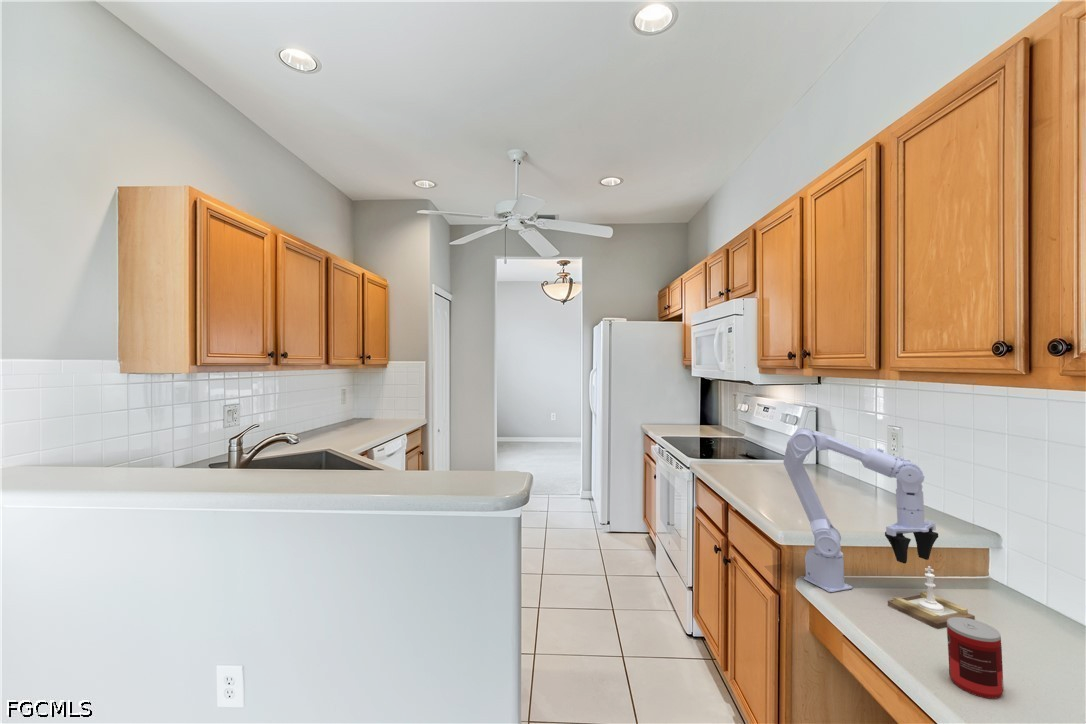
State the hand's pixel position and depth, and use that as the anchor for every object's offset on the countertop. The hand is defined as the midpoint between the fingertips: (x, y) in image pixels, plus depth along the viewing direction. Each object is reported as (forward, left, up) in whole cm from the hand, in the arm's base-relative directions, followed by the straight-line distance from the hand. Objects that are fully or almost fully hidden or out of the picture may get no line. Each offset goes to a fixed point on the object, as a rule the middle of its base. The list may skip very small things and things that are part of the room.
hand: (912, 560), depth 125 cm
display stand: (+6, -3, -10) cm, 12 cm away
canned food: (+29, -23, -11) cm, 39 cm away
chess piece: (+6, -3, -9) cm, 12 cm away
